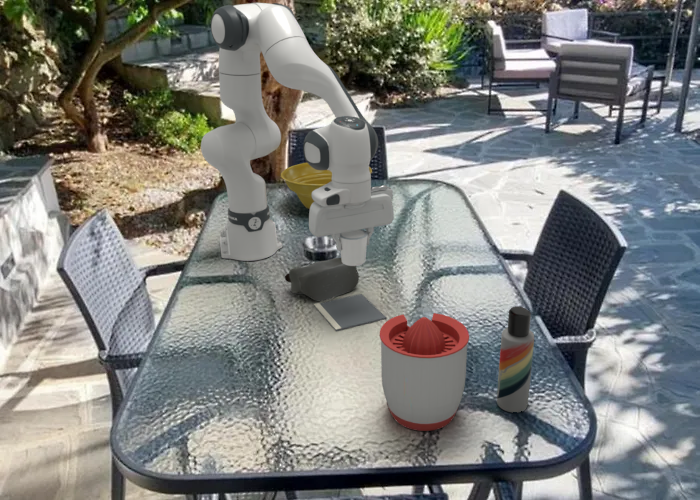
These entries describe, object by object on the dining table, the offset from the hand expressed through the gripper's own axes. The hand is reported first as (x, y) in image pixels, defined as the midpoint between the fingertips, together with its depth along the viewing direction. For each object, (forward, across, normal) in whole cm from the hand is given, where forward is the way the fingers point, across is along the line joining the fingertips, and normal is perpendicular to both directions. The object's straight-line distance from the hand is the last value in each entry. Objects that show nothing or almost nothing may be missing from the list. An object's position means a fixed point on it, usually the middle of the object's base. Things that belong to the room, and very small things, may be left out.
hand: (352, 247), depth 149 cm
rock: (+17, +3, -14) cm, 23 cm away
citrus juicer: (+17, +5, +41) cm, 45 cm away
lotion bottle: (+17, -11, +47) cm, 51 cm away
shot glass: (+4, 0, 0) cm, 4 cm away
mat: (+17, +1, 0) cm, 17 cm away
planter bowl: (+17, -24, -76) cm, 81 cm away
